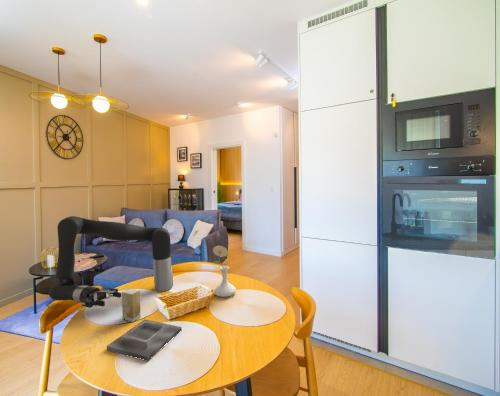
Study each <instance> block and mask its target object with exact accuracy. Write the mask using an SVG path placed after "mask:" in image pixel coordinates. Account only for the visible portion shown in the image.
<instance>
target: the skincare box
mask: <svg viewBox="0 0 500 396" xmlns="http://www.w3.org/2000/svg"><path fill="white" fill-rule="evenodd" d="M121 307H122V308H121V311H122V314H121V315H122V320H123V319H125V320H124V321H127V320H128V321H127V322H130V321H131V323H133V322H136V321H137V320H139V319H140V318H141V290H140V289H135V288H127V289H125V290H122V291H121ZM138 318H139V319H138ZM135 320H136V321H135Z"/></svg>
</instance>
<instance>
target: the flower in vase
mask: <svg viewBox="0 0 500 396" xmlns="http://www.w3.org/2000/svg"><path fill="white" fill-rule="evenodd" d="M212 252H213V254H214V255H215V256H217V257H218V260H214V261H213V262H212V264H216V265H220V267H219V270H220V271H221V274H222V280H221V282H220V283H219V285H217V286H216V287H215V288H214V291H213V292H214V293H213V294H215V295H216V296H217V297H223V298H224V297H230V296H234V294H236V292H237V289H236V286H234V285H233V284H231V283H230V282H229V281H228V271H229V269H230V267H229V266H228V265H227V264H229V260H228V261H225V262H223V264H222V262H221V258H223V257H228V254H229V251H228V248H226V247H225V246H223V245H216V246H214V247H213V249H212Z"/></svg>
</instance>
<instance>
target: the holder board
mask: <svg viewBox="0 0 500 396" xmlns="http://www.w3.org/2000/svg"><path fill="white" fill-rule="evenodd" d="M182 328H183V327H182V326H179V325H174V324H168V323H163V322H158V321H155V320H150V319H144V320H142V321H141V322H139V323H137V324H136V325H135V326H133V327H132V328H131V329H128V330H127V331H126V332H125V333H123V334H122V335H120V336H119V337H118V338H116V339H115V340H113V341H112V342H110V343H109V344H107V345H106V351H110V352H113V353H115V354H116V353H117V354H120V355H124V356H127V355H128V356H127V357H130V356H132V357H131V358H134V357H137V358H141V359H144V360H143V361H145V360H147V361H146V362H150V361H151V360H152V358H151V357H153V356H154V355H155V354H156V353H157V352H158V351H159V350H160V349H161V348H162V347H163V346H164V345H165V344H166V343H168V342H169V341H170V340H171V339H172V338H173V337H174V338H175V337H176V336H177V334H178V333H179V332H180V331H181V332H182ZM181 332H180V333H181ZM180 333H179V334H180ZM179 334H178V335H179ZM174 338H173V339H174ZM173 339H172V340H173ZM172 340H171V341H172ZM171 341H170V342H171ZM170 342H169V343H170ZM169 343H168V344H169ZM164 347H165V346H164ZM164 347H163V348H164ZM163 348H162V349H163ZM162 349H161V350H162ZM161 350H160V351H161ZM160 351H159V352H160ZM159 352H158V353H159ZM158 353H157V354H158ZM157 354H156V355H157ZM156 355H155V356H156ZM155 356H154V357H155ZM137 358H136V359H137ZM141 359H140V360H141Z"/></svg>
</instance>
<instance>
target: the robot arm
mask: <svg viewBox="0 0 500 396" xmlns="http://www.w3.org/2000/svg"><path fill="white" fill-rule="evenodd" d="M56 227H57V240H58V241H57V242H58V253H57V262H56V270H55V277H56V279H57V280H63V281H64V282H61V283H58V284H54V285H52V286H51V287H50V288H49V289H48V290H49V291H48V295H49V298H51V300H54V301H74V302H77V303H80V304H81V306H82V307H86V308H90V309H91V308H93V307H105V306H106V301H105V300H107V299H111V298H117V299H118V298H119V299H120V298H122V292H121V291H120V292H119V289H118V288H112V287H107V289H106V290H101V289H100V288H99V287H97V286H90V285H80V284H76V280H75V279H76V278H75V275H74V272H75V266H76V265H75V263H76V255H75V242H76V238H77V236H78V235H90V236H91V235H92V236H97V237H100V238H103V239H106V240H109V241H118V242H133V241H134V242H135V241H146V242H150V243H151V250H152V262H153V263H152V264H153V267H152V268H153V284H154V291H155V292H158V293H160V292H161V293H162V292H166V291H170V290H171V289H172V288H173V287H174V274H173V269H172V255H171V253H172V251H171V249H172V248H171V247H172V246H171V235H170V232H169V230H167V229H166V228H164V227H153V226H152V227H148V226H147V227H146V226H139V225H136V224H130V223H124V222H116V221H108V220H107V221H103V220H93V219H89V218H83V217H79V216H73V215H72V216H67V217H65V218H63V219H61V220H60V221H58V224H57V226H56Z"/></svg>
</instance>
